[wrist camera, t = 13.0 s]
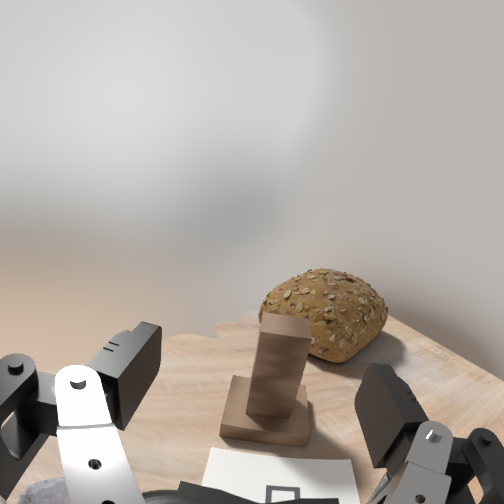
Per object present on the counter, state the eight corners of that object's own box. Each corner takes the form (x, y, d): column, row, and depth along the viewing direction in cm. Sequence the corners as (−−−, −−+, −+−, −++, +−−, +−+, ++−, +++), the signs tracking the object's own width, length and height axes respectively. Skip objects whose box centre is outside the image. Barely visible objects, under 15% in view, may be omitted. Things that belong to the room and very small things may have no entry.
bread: (308, 302, 70) (318, 254, 68) (389, 332, 57) (404, 279, 54) (237, 327, 52) (247, 263, 50) (342, 380, 38) (366, 305, 36)
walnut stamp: (219, 436, 26) (232, 338, 23) (231, 387, 34) (243, 301, 32) (306, 446, 25) (340, 353, 23) (301, 397, 34) (324, 313, 32)
